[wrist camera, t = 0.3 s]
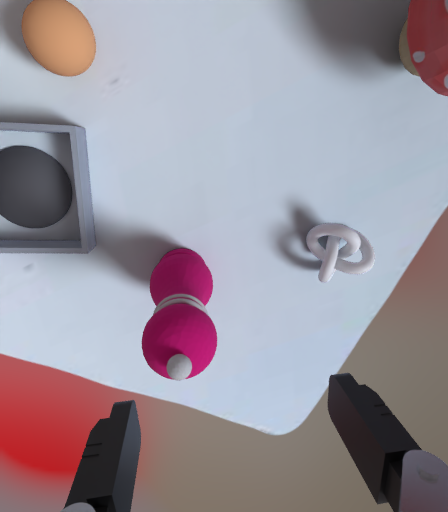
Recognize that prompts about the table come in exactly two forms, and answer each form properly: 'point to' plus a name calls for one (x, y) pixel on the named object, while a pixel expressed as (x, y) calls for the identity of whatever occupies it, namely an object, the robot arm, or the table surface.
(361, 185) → the table surface
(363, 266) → the knot
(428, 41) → the decorative mushroom
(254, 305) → the table surface
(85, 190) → the corral
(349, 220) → the table surface
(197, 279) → the pepper mill
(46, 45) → the ball
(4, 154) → the pad
